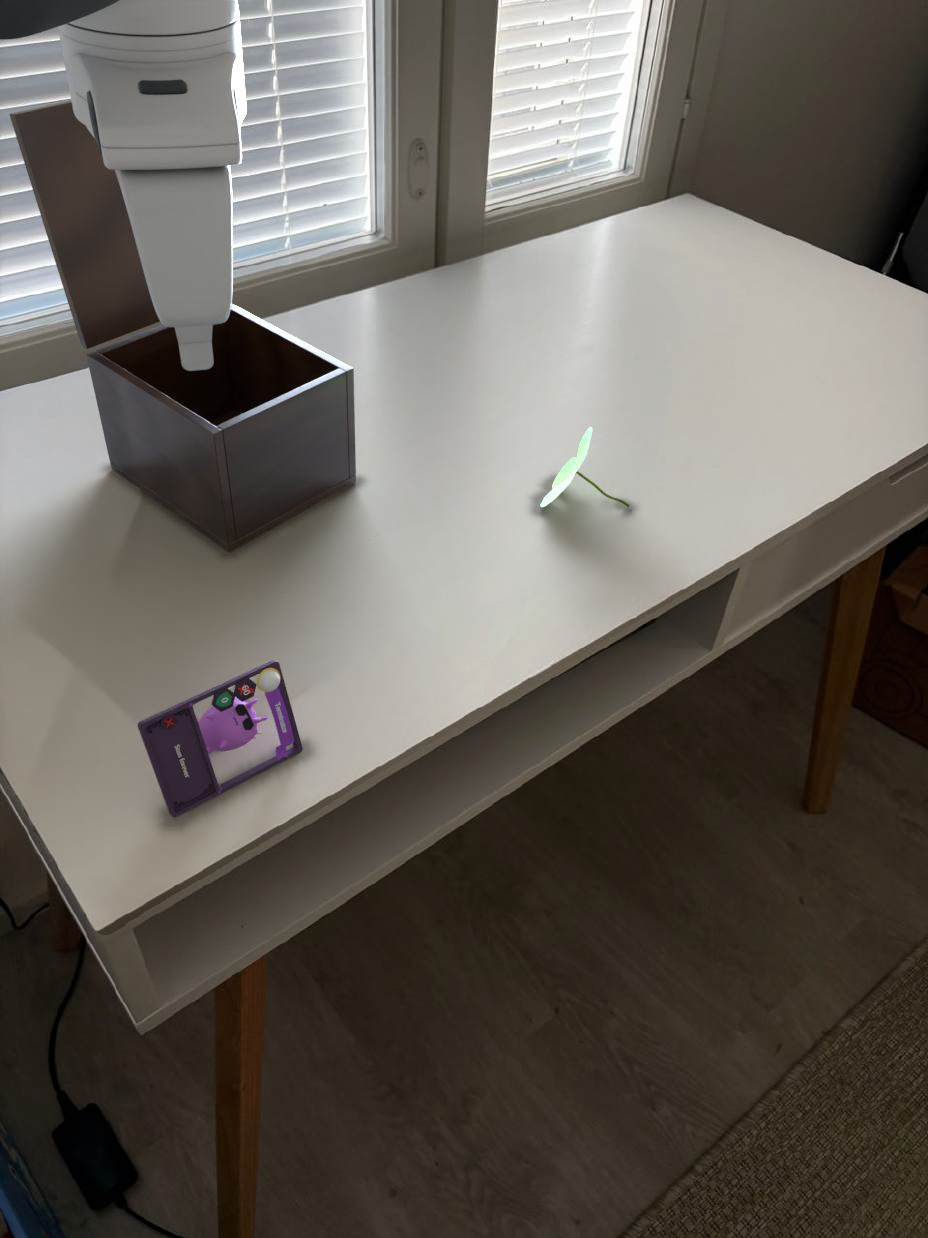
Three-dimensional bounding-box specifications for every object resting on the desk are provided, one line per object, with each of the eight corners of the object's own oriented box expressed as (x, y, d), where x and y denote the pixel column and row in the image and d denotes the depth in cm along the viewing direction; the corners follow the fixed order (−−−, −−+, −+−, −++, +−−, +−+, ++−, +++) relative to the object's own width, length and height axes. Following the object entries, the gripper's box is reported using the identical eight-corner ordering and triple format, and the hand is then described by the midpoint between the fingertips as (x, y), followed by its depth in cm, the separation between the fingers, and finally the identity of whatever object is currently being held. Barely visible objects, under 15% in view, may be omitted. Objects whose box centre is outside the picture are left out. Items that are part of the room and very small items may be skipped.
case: (356, 481, 86) (353, 367, 79) (229, 553, 78) (213, 434, 71) (238, 410, 93) (226, 299, 86) (111, 469, 85) (85, 353, 78)
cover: (181, 78, 75) (175, 77, 76) (14, 114, 68) (8, 113, 68) (228, 295, 85) (222, 294, 86) (87, 349, 77) (81, 347, 78)
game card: (143, 730, 56) (284, 664, 61) (112, 697, 60) (246, 638, 65) (177, 824, 59) (309, 755, 64) (145, 788, 63) (271, 725, 68)
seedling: (584, 548, 89) (526, 506, 87) (633, 474, 89) (576, 430, 88) (615, 551, 82) (552, 504, 80) (668, 469, 82) (607, 421, 81)
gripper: (87, 25, 59) (126, 258, 68) (99, 145, 44) (146, 418, 54) (199, 25, 60) (222, 252, 69) (245, 141, 46) (266, 407, 55)
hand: (189, 326), depth 61 cm, fingers open, 8 cm apart
